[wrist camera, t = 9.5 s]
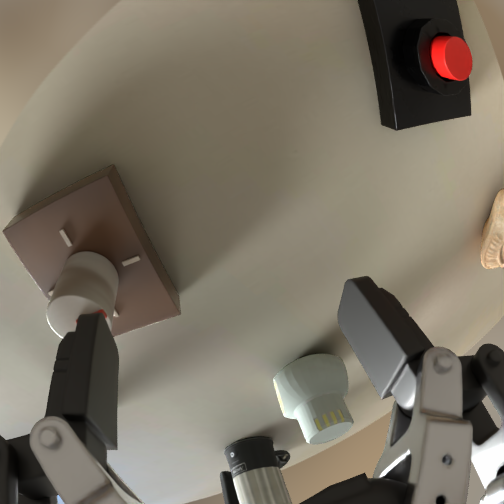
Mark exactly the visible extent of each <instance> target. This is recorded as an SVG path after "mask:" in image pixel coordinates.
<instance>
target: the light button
mask: <svg viewBox="0 0 504 504" xmlns="http://www.w3.org/2000/svg"><path fill="white" fill-rule="evenodd" d="M429 56H430V62H431V65H432V67H433V69H434V70H435V72H436V73H437V74H438V75H440V76H441V77H444V78H449V79H454V80H459V81H462V80H465V79H467V78H468V77H469V75H470V73H471V70H472V55H471V52H470V49H469V47H468V45H467V44H466V43H465V42H464V41H463V40H462V39H461V38H459V37H455V36H437V37H435V38H434V39H433V40H432V41H431V43H430V46H429Z"/></svg>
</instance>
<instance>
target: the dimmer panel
mask: <svg viewBox="0 0 504 504" xmlns="http://www.w3.org/2000/svg"><path fill="white" fill-rule="evenodd" d="M3 233H4V235H5V237H6V238H7V240H8V242H9V243H10V245H11V247H12V248H13V250H14V251H15V253H16V254H17V256H18V258H19V259H20V261H21V262H22V264H23V265H24V267H25V268H26V270H27V271H28V272H29V274H30V275H31V277H32V278H33V280H34V281H35V283H36V284H37V285H38V287H39V288H40V289H41V291H42V292H43V294H44V295H45V296H46V298H47V299H48V300H49V301H50V299H51V296H52V293H53V291H54V288H55V286H56V283H57V281H58V278H59V276H60V274H61V271H62V269H63V266H64V264H65V262H66V261H67V259H68V258H69V257H71V256H72V255H74V254H76V253H79V252H84V251H89V252H94V253H98V254H100V255H102V256H104V257H105V258H107V259H108V260H109V261H110V262H111V263H112V264H113V265H114V267H115V269H116V271H117V273H118V278H119V283H118V289H117V295H116V301H115V308H114V315H113V322H112V329H111V333H112V336H113V337H114V336H117V335H120V334H123V333H127V332H130V331H133V330H136V329H139V328H142V327H145V326H148V325H151V324H154V323H157V322H160V321H163V320H166V319H169V318H172V317H175V316H178V315H180V314H181V312H180V301H179V295H178V293H177V291H176V289H175V288H174V286H173V284H172V282H171V280H170V278H169V276H168V275H167V273H166V271H165V269H164V267H163V265H162V263H161V261H160V259H159V258H158V256H157V254H156V252H155V250H154V248H153V246H152V244H151V242H150V240H149V238H148V236H147V234H146V232H145V230H144V228H143V226H142V224H141V222H140V220H139V218H138V216H137V214H136V211H135V209H134V207H133V205H132V203H131V201H130V199H129V197H128V195H127V192H126V190H125V188H124V186H123V184H122V181H121V179H120V177H119V175H118V172H117V170H116V168H115V166H114V165H111V166H109V167H107V168H105V169H103V170H101V171H99V172H96V173H94V174H92V175H90V176H88V177H86V178H84V179H82V180H80V181H78V182H76V183H74V184H72V185H70V186H68V187H66V188H64V189H63V190H61V191H59V192H57V193H55V194H53V195H51V196H49V197H48V198H46V199H44V200H42V201H41V202H39V203H37V204H35V205H33V206H32V207H30V208H28V209H27V210H25V211H23V212H22V213H20V214H18V215H17V216H15V217H14V218H13V219H12V220H11V221H10V223H9V224H8V225H7V226H6V227H5V229H4V230H3Z"/></svg>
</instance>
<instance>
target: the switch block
mask: <svg viewBox="0 0 504 504" xmlns="http://www.w3.org/2000/svg"><path fill="white" fill-rule="evenodd" d="M358 4H359V7H360V11H361V15H362V19H363V23H364V27H365V32H366V36H367V41H368V45H369V50H370V55H371V60H372V65H373V71H374V76H375V82H376V88H377V95H378V102H379V109H380V117H381V124H382V125H383V126H386V127H389V128H391V129H394V130H401V129H406V128H410V127H415V126H419V125H424V124H429V123H434V122H439V121H444V120H449V119H454V118H459V117H465V116H471V99H470V85H469V77H468V78H467V79H465V80H462V81H459V80H454V79H449V78H444V77H441V76H440V75H438V74H437V73H436V72H435V70H434V69H433V67H432V65H431V62H430V56H429V46H430V43H431V41H432V40H433V39H434V38H435V37H437V36H455V37H459V38H461V39H462V40H463V41H464V42H465V43H466V41H465V39H464V36H463V30H462V25H461V19H460V15H459V10H458V5H457V1H456V0H358ZM466 44H467V43H466Z"/></svg>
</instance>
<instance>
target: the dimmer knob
mask: <svg viewBox="0 0 504 504" xmlns="http://www.w3.org/2000/svg"><path fill="white" fill-rule="evenodd" d="M118 283H119V278H118V273H117V271H116V269H115V267H114V265H113V264H112V263H111V262H110V261H109V260H108V259H107V258H105V257H104V256H102V255H100V254H98V253H94V252H89V251H84V252H79V253H76V254H74V255H72V256H71V257H69V258H68V259H67V261H66V262H65V264H64V266H63V269H62V271H61V274H60V276H59V278H58V281H57V283H56V286H55V288H54V291H53V293H52V296H51V299H50V301H49V304H48V307H47V311H46V314H47V320H48V323H49V325H50V326H51V328H52V329H53V330H54V332H55V333H56V334H57V335H59V336H60V337H61V338H64V336H65V335H66V334H67V332H73V331H75V329H76V325H77V321H78V317H79V315H81V314H92V313H103V314H104V316H105V319H106V321H107V324H108V326H109V329H110V331H111V329H112V322H113V315H114V308H115V301H116V295H117V289H118Z"/></svg>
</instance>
